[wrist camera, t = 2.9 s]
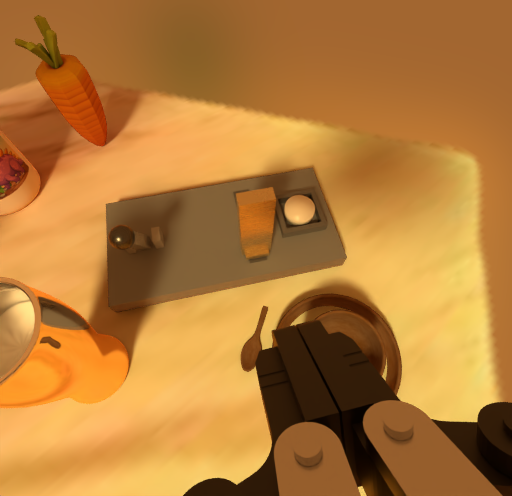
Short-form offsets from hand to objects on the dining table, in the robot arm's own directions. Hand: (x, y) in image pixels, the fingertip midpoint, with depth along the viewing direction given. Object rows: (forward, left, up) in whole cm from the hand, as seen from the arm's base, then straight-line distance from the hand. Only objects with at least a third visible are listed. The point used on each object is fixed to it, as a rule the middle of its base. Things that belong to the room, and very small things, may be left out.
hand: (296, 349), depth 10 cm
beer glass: (-15, +5, -22) cm, 27 cm away
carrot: (-14, +33, -22) cm, 43 cm away
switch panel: (-1, +16, -22) cm, 27 cm away
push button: (+7, +16, -20) cm, 27 cm away
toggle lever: (-9, +16, -20) cm, 27 cm away
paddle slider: (+2, +13, -20) cm, 24 cm away
